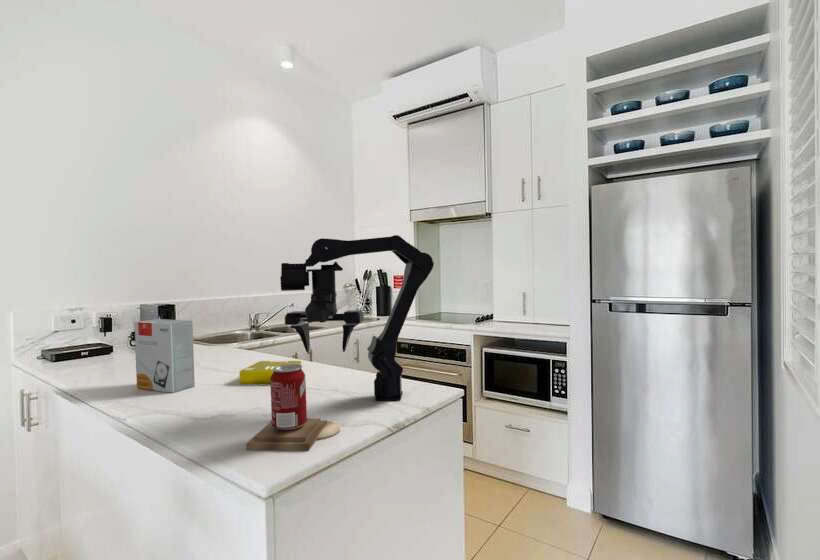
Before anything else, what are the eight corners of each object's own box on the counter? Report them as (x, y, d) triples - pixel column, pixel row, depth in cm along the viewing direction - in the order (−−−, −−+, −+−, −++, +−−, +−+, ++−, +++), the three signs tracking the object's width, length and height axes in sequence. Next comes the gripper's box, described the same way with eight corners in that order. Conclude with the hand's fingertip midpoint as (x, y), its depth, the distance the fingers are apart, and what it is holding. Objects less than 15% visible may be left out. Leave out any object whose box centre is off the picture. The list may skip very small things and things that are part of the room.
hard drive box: (135, 389, 122) (132, 321, 122) (159, 382, 129) (157, 318, 129) (173, 393, 116) (170, 323, 116) (196, 386, 124) (193, 319, 123)
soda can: (297, 433, 79) (295, 371, 79) (265, 432, 81) (263, 371, 80) (312, 421, 86) (310, 363, 86) (282, 419, 87) (280, 363, 87)
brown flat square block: (326, 425, 89) (326, 416, 89) (309, 450, 77) (308, 439, 77) (272, 425, 90) (272, 416, 90) (246, 449, 78) (246, 439, 78)
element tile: (303, 373, 137) (303, 359, 137) (285, 386, 123) (284, 370, 122) (260, 373, 139) (259, 359, 139) (237, 386, 124) (236, 370, 124)
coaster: (344, 423, 90) (344, 420, 90) (333, 440, 81) (333, 437, 81) (304, 423, 91) (303, 420, 91) (289, 440, 82) (288, 437, 82)
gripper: (274, 292, 96) (276, 359, 96) (354, 290, 95) (356, 358, 95) (291, 289, 107) (293, 349, 107) (363, 288, 106) (365, 349, 106)
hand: (325, 351), depth 104 cm, fingers open, 9 cm apart
